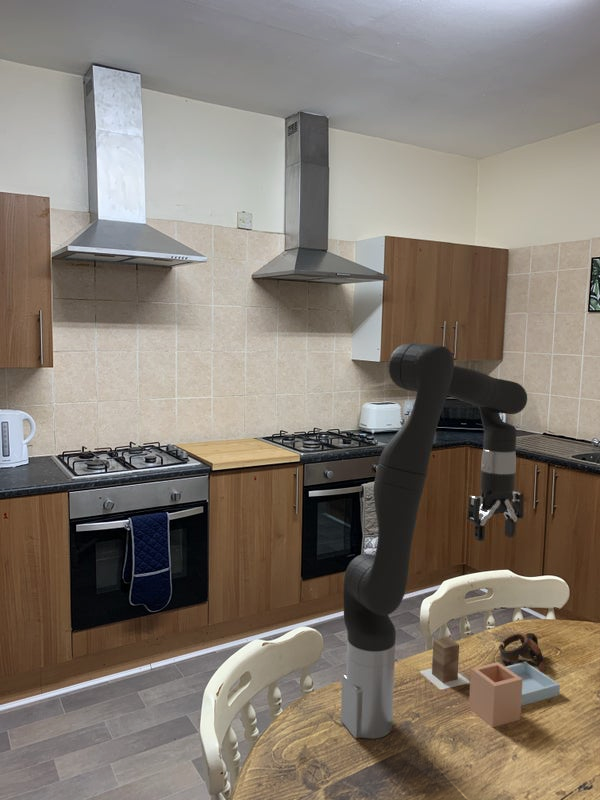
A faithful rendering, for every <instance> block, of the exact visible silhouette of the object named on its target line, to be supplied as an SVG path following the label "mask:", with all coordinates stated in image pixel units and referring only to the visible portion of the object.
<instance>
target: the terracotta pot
mask: <svg viewBox="0 0 600 800" xmlns="http://www.w3.org/2000/svg"><path fill="white" fill-rule="evenodd" d="M469 676H470V677H469V679H470V680H469V681H470V683H469V699H468V708H469V710H471V711H472V712H473V713H475V714H476V715H477V717H479V718H480V719H481V720H483V721H484V722H485V723H486V724H487V725H489V726H490V728H496V727H499V726H503V725H506V724H510V723H513V722H517V721H520V720H521V715H522V714H521V713H522V706H521V699H522V681H523V679H522V678H520V677H519V676H518V675H516V674H515V673H513V672H512V671H510V670H509V669H508V668H506V666H505V665H503V664H502V663H500V661H497V662H492V663H488V664H484V665H480V666H475V667H471V668H470V675H469Z"/></svg>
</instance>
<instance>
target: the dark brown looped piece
mask: <svg viewBox="0 0 600 800" xmlns="http://www.w3.org/2000/svg"><path fill="white" fill-rule="evenodd" d="M517 641H520V643H521V645H520V646H518V647H516V648H514V649H511V650H506V648H507V647H508V646H509V645H510V644H512V643H514V642H517ZM498 650H499V653H500V654H499V659H500V660H501V661H502V662H504V663H514V664H518V663H519V658H520V657H521V658H524V659H528V660H531V659H533V658H534V657H535V659H536V661H537V662H538V663H539V665H538V670H539V671H540V672H542V673H544V672H545V671H546V667H547V666H546V664H545V659H544V656H543V653H542V650H541V649H540V647H539V641H538V637H537V636H536V634H535V633H533V632H527V633H526V634H525V633H513V634H511V635H509V636H507V637H506V638H504V639H502V644H500V645H499V646H498Z"/></svg>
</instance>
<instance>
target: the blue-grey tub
mask: <svg viewBox="0 0 600 800" xmlns="http://www.w3.org/2000/svg"><path fill="white" fill-rule="evenodd" d="M505 667H506V668H508V669H509V670H510V671H512V672H513V673H515V674H516V675H518V676H519V677H520V678H522V679H523V681H522V699H521V707H523V706H526V705H529V704H530V705H531V704H534V703H537V702H541V701H544V700H547V699H552V698H554V697H558V696H560V691H561V688H560V687H561V684H560V683H558V682H557V681H556V680H554V679H552V678H551V677H549V676H548V675H546V674H545V673H544V672H540V669H537V668H536V667H534V666H532V665H531V664H529V662H527V661H522V662H518V664H516V663H514V664H511V665H510V664H509V665H507V666H505Z"/></svg>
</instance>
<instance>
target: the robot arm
mask: <svg viewBox="0 0 600 800" xmlns="http://www.w3.org/2000/svg"><path fill="white" fill-rule="evenodd" d="M388 373H389V377H390V379H391V380H392V382H393V383H394V385H396V386H397V387H399V388H401V389H403V390H406V391H410V392H417V393H416V397H415V400H414V404H413V407H412V410H411V412H410V414H409V416H408V418H407V420H406V422H404V424H403V425H402V427H401V428H400V429H399V430H398V431H397V432H396V433H395V435H393V437H392V438H391V440H389V442H388V443H387V445H386V446H384V448H383V450H382V451H381V454H380V457H379V460H378V464H377V469H376V473H375V478H374V483H373V501H374V509H375V517H376V521H377V523H376V524H377V533H378V535H377V543H376V545H377V546H376V549H375V554H371V553H362V554H360V555H357V556H356V557H354V558H353V559H352V560H351V561H350V562H349V564H348V565H347V568H346V570H345V573H344V578H343V620H344V625H345V627H346V628H345V629H346V631H347V639H346V642H347V644H346V645H347V646H346V670H345V671H346V673H344V674H342V676H341V697H340V699H341V703H340V704H341V705H340V706H341V708H340V722H342V724H343V725H344V726H345V728H346V729H347V730H348V731H349V733H350V734H351V735H352V736H353V738H354V739H359V738H364V739H371V740H372V739H373V740H375V739H379V738H384V737H385V736H387V735H389V733H391V731H392V729H393V717H394V714H393V713H394V689H395V687H394V686H395V665H396V664H395V661H396V660H395V659H396V637H397V636H396V634H397V633H396V627H395V625H394V623H393V621H392V619H390V616H389V615H390V614H392V613H394V612H395V611H396V610H398V608H399V607H400V605H401V603H402V602H403V599H404V597H405V594H406V590H407V585H408V579H409V577H408V576H409V567H410V560H411V550H412V546H413V545H412V543H413V539H414V537H413V536H414V532H415V528H416V523H417V517H418V512H419V507H420V504H421V503H420V502H421V498H422V495H423V490H424V487H425V482H426V478H427V473H428V469H429V463H430V458H431V453H432V450H433V449H432V448H433V444H434V442H435V441H434V440H435V437H436V436H435V435H436V433H437V428H438V424H439V422H440V419H441V415H442V412H443V410H444V408H445V407H444V406H445V403H446V400H447V397H451V398H453V399H456V400H458V401H462V402H464V403H467V404H471V405H474V406H477V407H478V409H479V415H480V418H481V423H482V428H483V447H482V448H483V449H482V454H481V465H480V481H479V482H480V483H479V485H480V489H481V494H480V496H479V495H478V496H475V495H473V494H470V495H469V499H468V508H467V521H468V522H470V523H473V524H474V531H473V532H474V533H473V535H474V538H475V540H476V541H478V542H484V541H485V532H486V525H485V524H486V523H487V521H488V519H490V518H492V516H493V515H497V514H503V515H504V517H505V521H504V536H505V537H508V538H509V539H510V538H514V536H515V533H516V523H517V521H518V520H519V519H523V518H524V507H525V506H524V503H525V502H524V498H525V497H524V496H525V495H524V493H522V492H519V491H517V490H515V489H516V486H515V485H516V470H517V469H516V468H517V455H516V449H517V428H516V427H515V426H514V425H512V424H510V423H507V422H504V421H503V420H502V418H501V414H504V415H505V414H506V415H516V414H519V413H520V412H522V411H523V410H524V409H525V407H526V405H527V403H528V394H527V391H526V390H525V387H523V385H521V384H519V383H518V382H514V381H511V380H507V379H502V378H498V377H497V378H496V377H493V376H491V375H488V374H486V373H484V372H481V371H478V370H475V369H472V368H468V367H463V366H459V365H455V363H454V356H453V353H452V352H451V350H450V349H449V348H448V347H446V346H443V345H439V344H428V343H427V344H426V343H419V342H418V343H417V342H416V343H415V342H411V343H410V342H408V343H404V344H401V345H399V346H397V348H396V349H394V350H393V352H392V353H391V355H390V358H389V361H388Z"/></svg>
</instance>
